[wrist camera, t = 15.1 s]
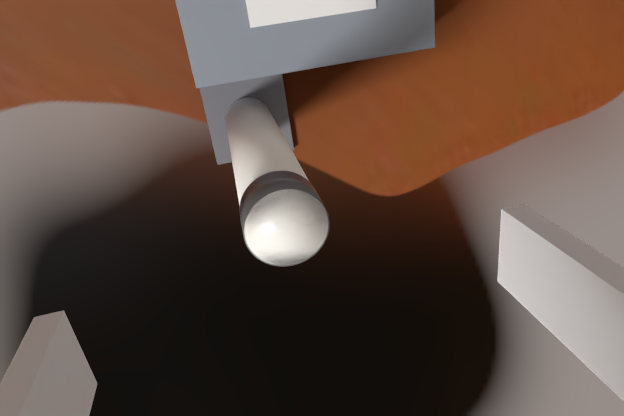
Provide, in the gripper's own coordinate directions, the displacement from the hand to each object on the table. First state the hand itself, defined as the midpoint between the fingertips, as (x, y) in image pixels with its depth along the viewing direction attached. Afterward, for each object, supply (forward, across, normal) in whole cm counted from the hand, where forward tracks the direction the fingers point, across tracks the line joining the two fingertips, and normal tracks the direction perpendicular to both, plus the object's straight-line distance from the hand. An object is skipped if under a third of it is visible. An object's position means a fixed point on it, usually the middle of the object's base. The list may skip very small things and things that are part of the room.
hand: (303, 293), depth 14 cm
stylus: (+23, 0, 0) cm, 23 cm away
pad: (+24, +1, 0) cm, 24 cm away
